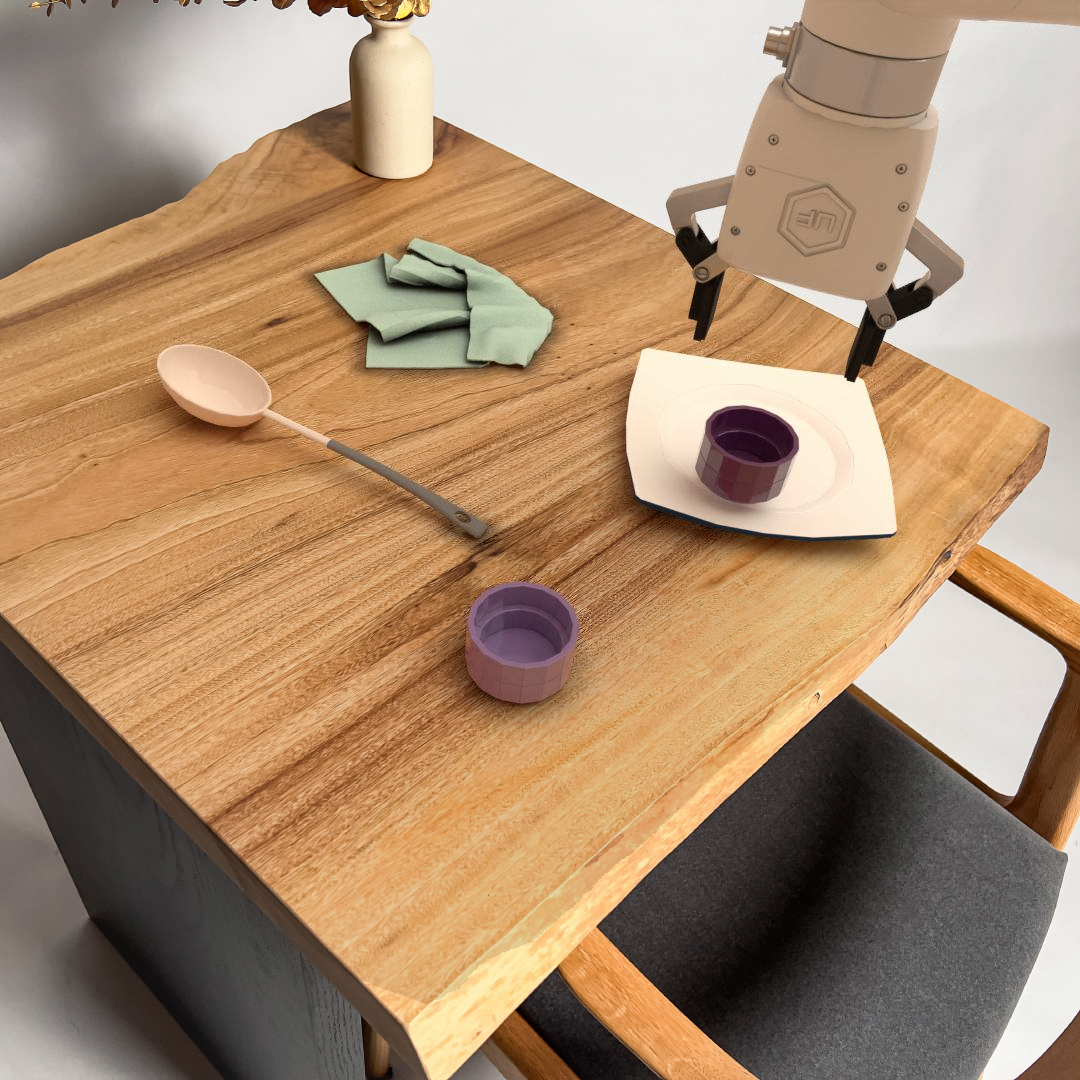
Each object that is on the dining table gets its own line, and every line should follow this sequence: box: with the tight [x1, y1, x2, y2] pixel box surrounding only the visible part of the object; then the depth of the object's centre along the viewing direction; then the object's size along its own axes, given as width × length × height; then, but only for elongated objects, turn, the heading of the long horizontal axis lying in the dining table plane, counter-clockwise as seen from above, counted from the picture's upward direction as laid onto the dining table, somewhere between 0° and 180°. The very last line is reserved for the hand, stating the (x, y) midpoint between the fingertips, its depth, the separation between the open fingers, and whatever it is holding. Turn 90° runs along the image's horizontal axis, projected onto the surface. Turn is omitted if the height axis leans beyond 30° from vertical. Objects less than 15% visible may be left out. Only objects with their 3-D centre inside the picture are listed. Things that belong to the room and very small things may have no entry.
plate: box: [624, 347, 898, 543], centre depth 77 cm, size 20×20×3 cm
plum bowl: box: [695, 405, 799, 504], centre depth 71 cm, size 7×7×4 cm
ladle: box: [156, 343, 489, 539], centre depth 73 cm, size 6×28×5 cm, turn 61°
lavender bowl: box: [464, 580, 580, 704], centre depth 61 cm, size 7×7×4 cm
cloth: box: [313, 237, 555, 370], centre depth 88 cm, size 20×22×2 cm
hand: (776, 350), depth 63 cm, fingers open, 9 cm apart
